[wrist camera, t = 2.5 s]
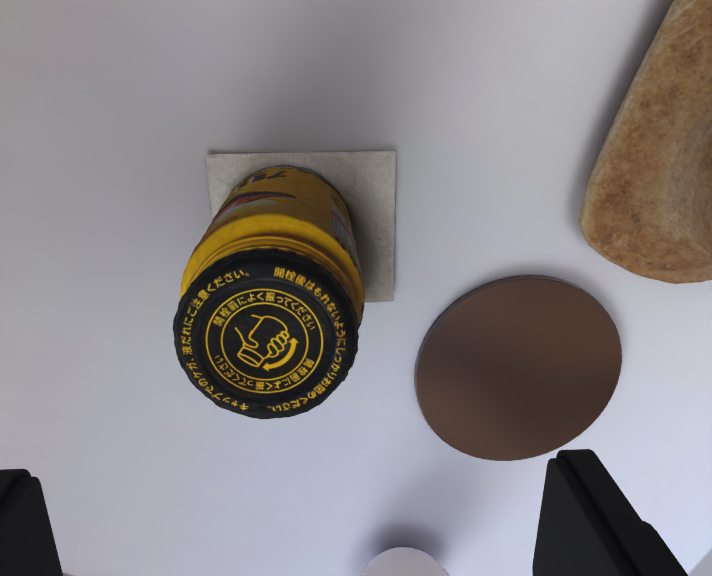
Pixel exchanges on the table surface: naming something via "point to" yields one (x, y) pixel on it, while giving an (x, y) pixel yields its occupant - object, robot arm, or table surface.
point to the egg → (404, 564)
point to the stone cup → (660, 159)
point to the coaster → (517, 368)
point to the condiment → (285, 276)
